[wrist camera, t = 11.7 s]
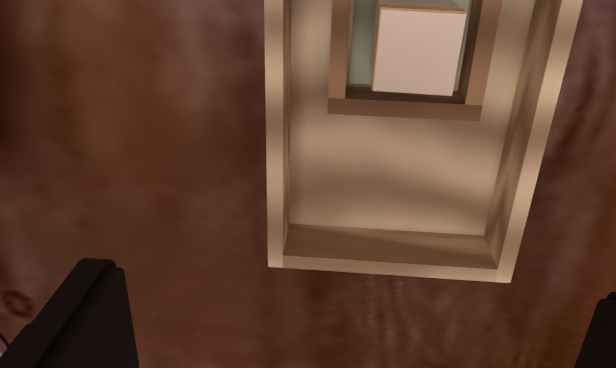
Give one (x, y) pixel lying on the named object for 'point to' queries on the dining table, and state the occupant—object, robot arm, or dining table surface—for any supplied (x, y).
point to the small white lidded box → (416, 46)
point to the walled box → (407, 141)
